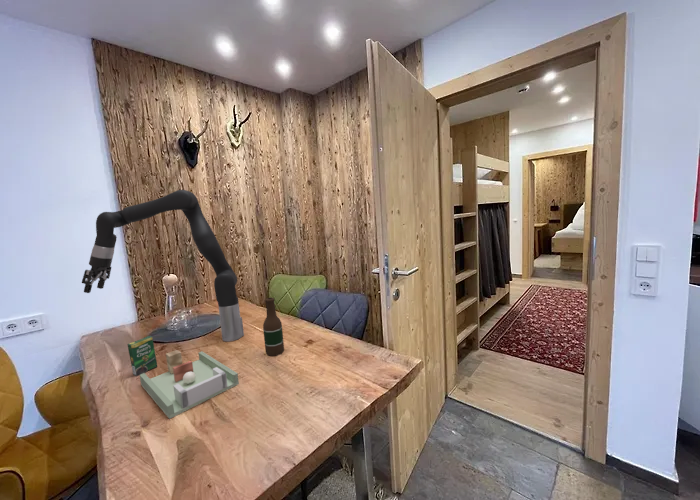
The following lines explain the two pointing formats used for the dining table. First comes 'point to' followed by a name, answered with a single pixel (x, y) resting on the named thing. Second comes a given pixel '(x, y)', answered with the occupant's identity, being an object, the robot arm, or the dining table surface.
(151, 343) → the coffee box
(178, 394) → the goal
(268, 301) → the beer bottle
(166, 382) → the pitch
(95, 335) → the dining table surface
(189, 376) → the ball
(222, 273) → the robot arm
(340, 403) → the dining table surface
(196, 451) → the dining table surface
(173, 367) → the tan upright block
